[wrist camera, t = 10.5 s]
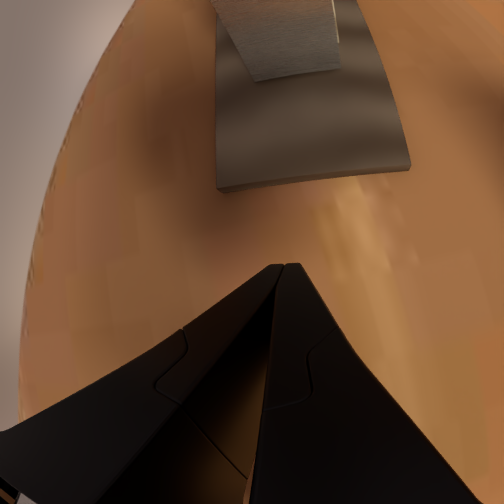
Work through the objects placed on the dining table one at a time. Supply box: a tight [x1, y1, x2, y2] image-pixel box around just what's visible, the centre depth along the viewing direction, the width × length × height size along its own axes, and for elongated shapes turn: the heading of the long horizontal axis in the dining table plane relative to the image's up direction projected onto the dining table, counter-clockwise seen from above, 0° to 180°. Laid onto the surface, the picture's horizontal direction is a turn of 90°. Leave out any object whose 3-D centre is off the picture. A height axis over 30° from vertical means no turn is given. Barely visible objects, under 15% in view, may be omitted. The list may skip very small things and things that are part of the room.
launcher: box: [216, 0, 411, 193], centre depth 20 cm, size 28×14×10 cm, turn 3°
